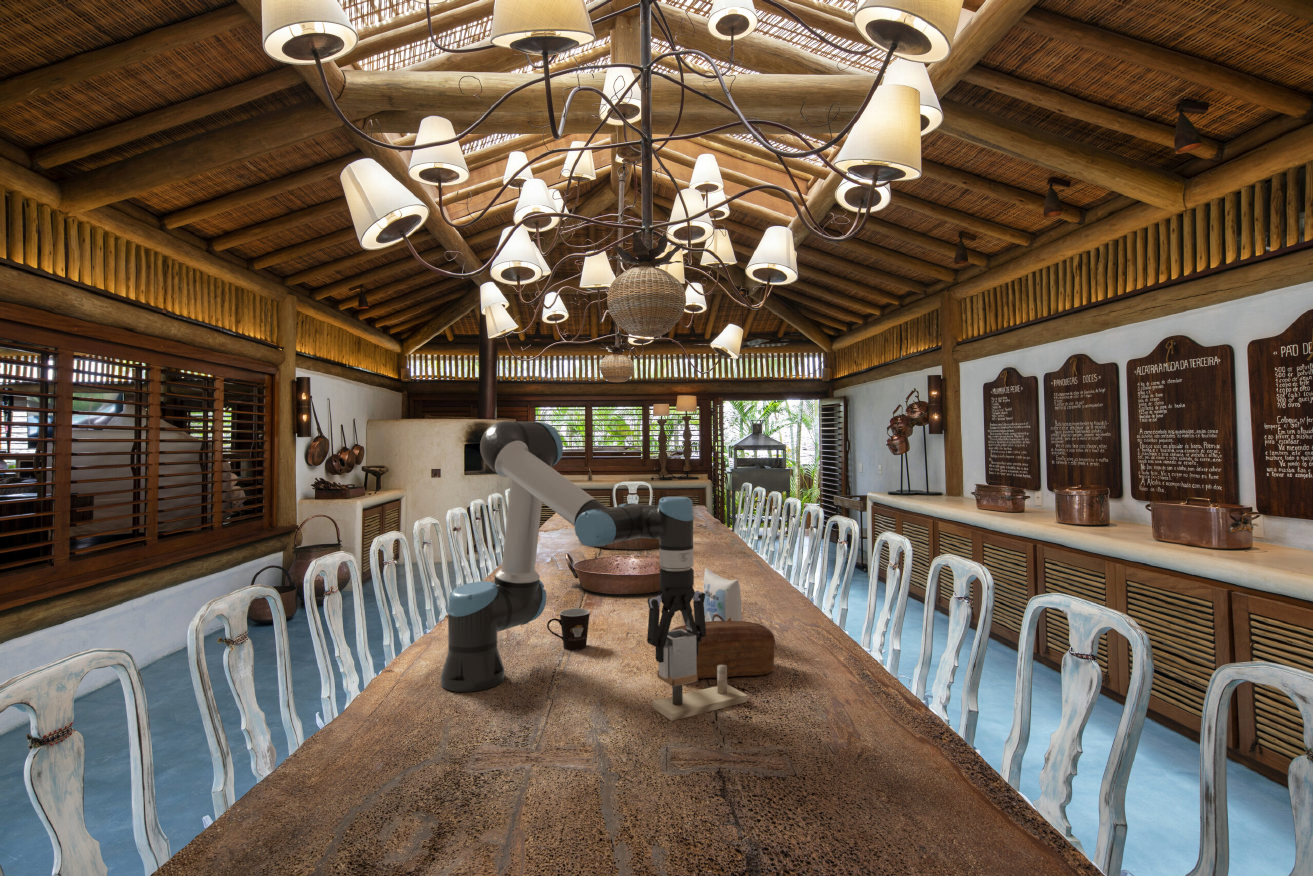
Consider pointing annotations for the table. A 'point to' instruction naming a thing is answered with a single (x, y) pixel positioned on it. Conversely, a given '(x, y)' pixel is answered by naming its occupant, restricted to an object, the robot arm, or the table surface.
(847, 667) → the table surface
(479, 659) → the robot arm
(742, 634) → the bread
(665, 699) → the pin board
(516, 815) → the table surface
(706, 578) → the pouch
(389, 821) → the table surface
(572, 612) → the coffee mug
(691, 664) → the sleeve
